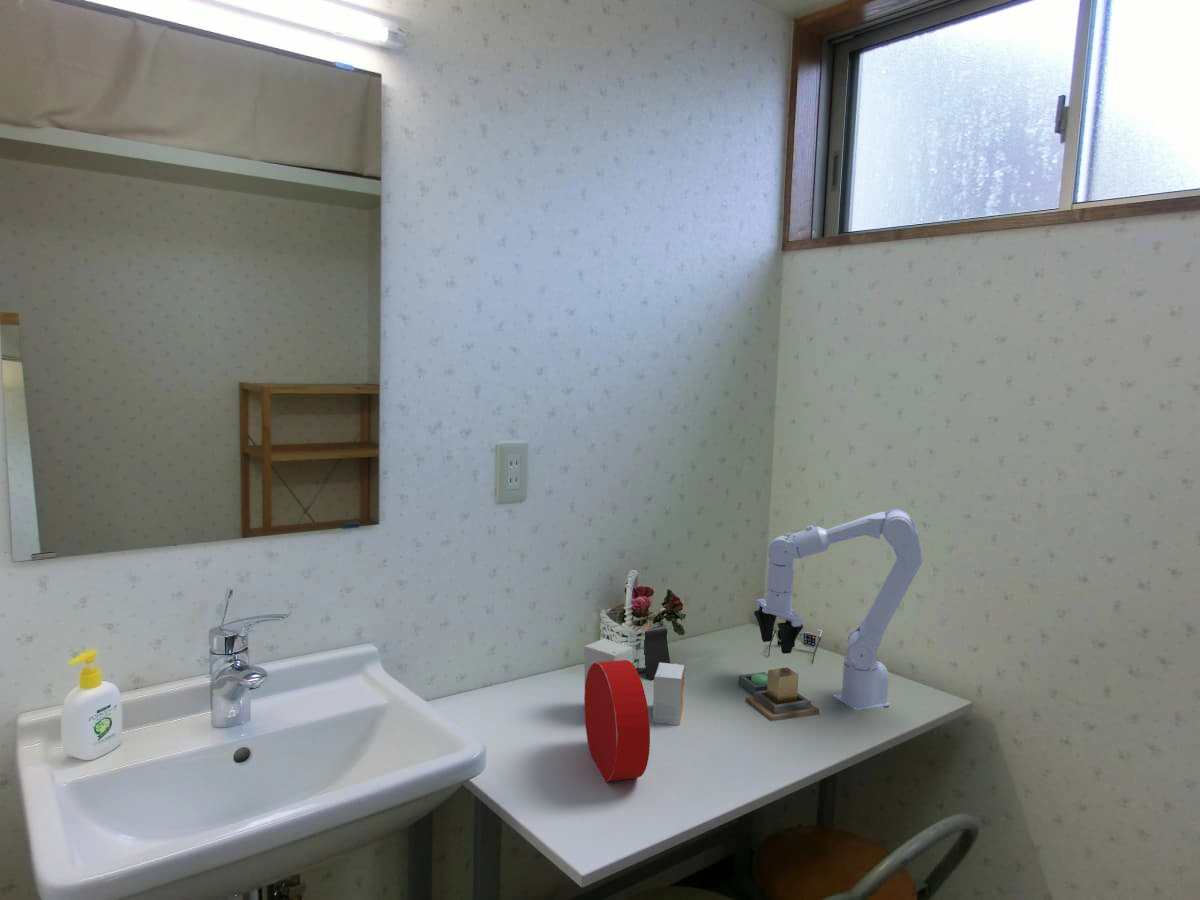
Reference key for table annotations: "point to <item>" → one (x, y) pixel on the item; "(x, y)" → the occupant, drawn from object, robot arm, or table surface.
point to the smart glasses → (807, 639)
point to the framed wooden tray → (781, 707)
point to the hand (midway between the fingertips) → (776, 646)
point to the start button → (759, 679)
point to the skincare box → (606, 653)
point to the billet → (782, 685)
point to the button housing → (751, 683)
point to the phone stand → (655, 649)
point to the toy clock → (617, 720)
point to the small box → (668, 693)
